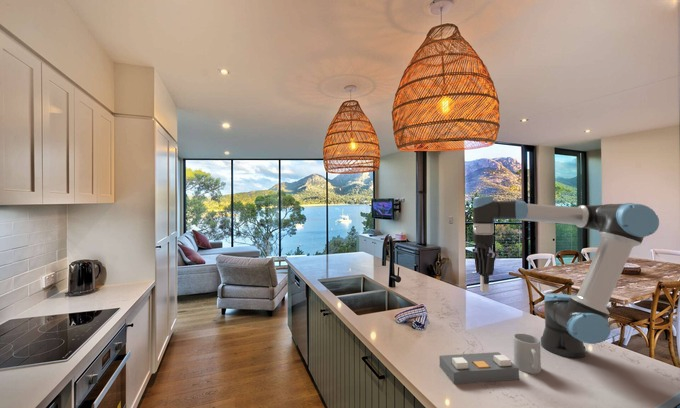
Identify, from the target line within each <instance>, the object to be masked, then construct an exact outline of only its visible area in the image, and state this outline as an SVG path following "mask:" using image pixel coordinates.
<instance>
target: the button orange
mask: <svg viewBox="0 0 680 408" xmlns="http://www.w3.org/2000/svg"><path fill="white" fill-rule="evenodd" d="M473 364H474V365H475V366H476V367H477V368H478V369H485V368H490V366H489V365H487V364H486V363H485V362H484V361H474V362H473Z"/></svg>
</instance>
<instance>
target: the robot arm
mask: <svg viewBox="0 0 680 408" xmlns="http://www.w3.org/2000/svg"><path fill="white" fill-rule="evenodd" d="M472 200H473V201H472V214H473V216H472V220H473V225H472V227H473V233H474V234H473V243H474V244H475V245H476V246H475V248H472V253H473V258H474V264H475V270H476V271H475V272H477V273H478V275H479V281H480V284H479V286H480V288H479V289H480V292H482V293H486V292H487V293H488V292H490V276H493V275H494V269H495V268H494V267H495V262H496V261H495V260H496V257H497V256H498V254H497V253H496V252H494V251H493V248H492V247H493V246H492V245H493V244H495V235H494V233H495V224H494V221H495V220H516V221H525V222H539V223H548V224H550V223H551V224H561V225H563V224H564V225H573V226H576V227H577V228H581V229H587V230H588V229H590V230H594V231H598V235H599V236H600V237H601V239H600V242H599V244H598V247H597V249H596V251H595V253H594V256H593V257H592V261H591V263H590V265H589V268H588V269H587V272H586V274H585V276H584V279H583V281H582V283H581V286H580V288H579V290H578V292H577V294H576V295H571V294H565V293H553V292H552V293H551V292H550V293H546V294H545V295H544V301H543V303H544V330H543V333H542V335H541V337H540V346H541V347H542V348H544V349H545V350H546V351H548V352H551V353H552V354H556V355H558V356H562V357H566V358H572V359H574V358H575V359H577V358H579V359H580V358H584V357H586V356H587V350H586V346H585V345H584V343H586V344H587V345H589V344H590V345H591V344H592V345H596V344H599V343H603V342H605V341H606V340H607V339H608V338H609V337H610V335H611V331H612V328H611V326H610V323H609V321H607V320H608V318H609V316H610V311H609V310H608V308H607V307H608V303H609V301H610V300H611V297H612V295H613V293H614V290H615V288H616V286H617V284H618V281H619V279H620V277H621V275H622V273H623V270H624V268H625V266H626V264H627V261H628V259H629V257H630V255H631V252H632V250H633V248H634V247H637V246H640V245H642V242H643V240H644V238H646V237H649V236H651V235H653V234H654V233H656V232H657V230H658V229H659V226H660V219H659V218H660V217H658V216H659V215H657V214H656V212H655V210H653V209H652V208H651V207H650V206H647V205H645V204H640V203H632V202H626V203H607V204H606V203H605V204H596V205H587V204H586V205H585V204H580V205H578V206H566V205H565V206H564V205H550V204H538V203H536V204H535V203H526V202H525V201H524V200H501V201H500V200H494V197H493V196H491V195H490V196H485V195H483V196H475V197H474V198H473V199H472Z"/></svg>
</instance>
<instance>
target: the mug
mask: <svg viewBox="0 0 680 408" xmlns="http://www.w3.org/2000/svg"><path fill="white" fill-rule="evenodd" d="M541 359H542V357H541V339H539V338H538V337H535V336H533V335H532V334H531V335H530V334H526V333H515V334H514V335H513V364H514V365H516V366H517V367H518V368H519V371H521V372H523V373H527V374H530V375H531V374H532V375H535V374H536V375H537V374H540V373H541V371H542V362H541Z"/></svg>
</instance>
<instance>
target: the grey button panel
mask: <svg viewBox="0 0 680 408" xmlns="http://www.w3.org/2000/svg"><path fill="white" fill-rule="evenodd" d="M438 359H439V367H440V369H441V370H442V371H443V372H444V373H445V374H446V376H447V377H448V379H449V380H450V381H451V382H452V384H454V385H458V384H460V385H461V384H475V383H487V382H502V381H503V382H504V381H518V380H520V370H519V368H518V367H517V366H516V365H514V362H511V359H510V358H509V357H507V355H505V354H502V353H500V352H498V351H496V352H495V351H494V352H482V353H481V352H480V353H479V352H478V353H462V354H445V355H444V354H443V355H439V358H438ZM474 361H484V362H485V363H486V364H487V365H489V366H490V368H485V369H478V368H477V367H476V366H475V365H474V364H473V362H474Z"/></svg>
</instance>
